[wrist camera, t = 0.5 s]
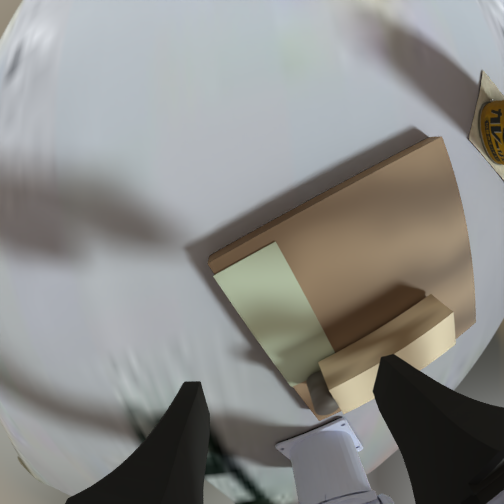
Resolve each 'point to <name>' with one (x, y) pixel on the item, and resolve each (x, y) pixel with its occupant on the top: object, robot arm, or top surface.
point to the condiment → (489, 124)
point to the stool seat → (352, 262)
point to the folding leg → (376, 346)
